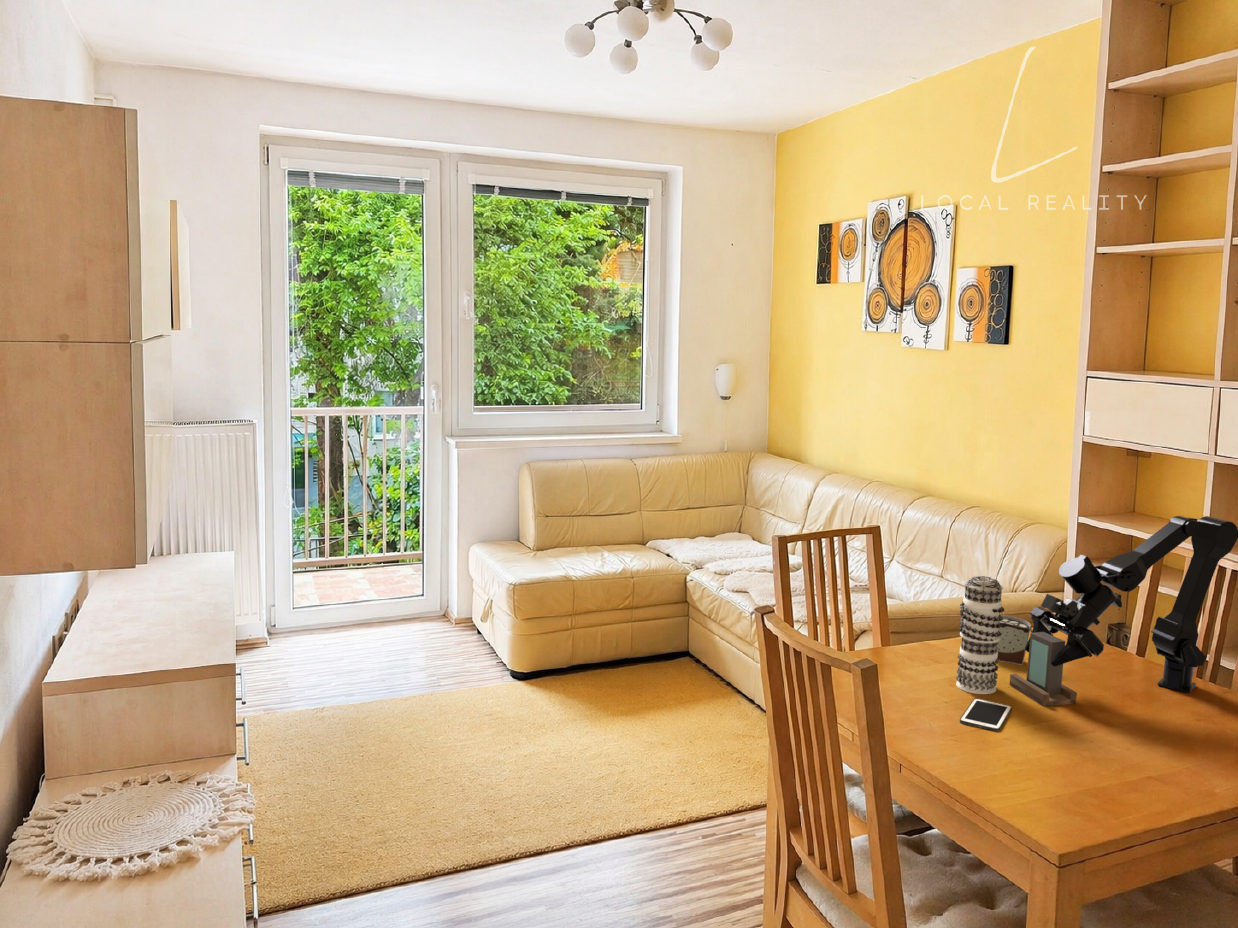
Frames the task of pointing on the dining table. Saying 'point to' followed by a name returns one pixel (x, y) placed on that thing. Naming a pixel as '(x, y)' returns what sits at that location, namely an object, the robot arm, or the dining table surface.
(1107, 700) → the dining table surface
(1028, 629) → the food container
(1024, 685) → the tray
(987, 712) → the cell phone
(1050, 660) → the grey rectangular box
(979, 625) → the decorative candle
